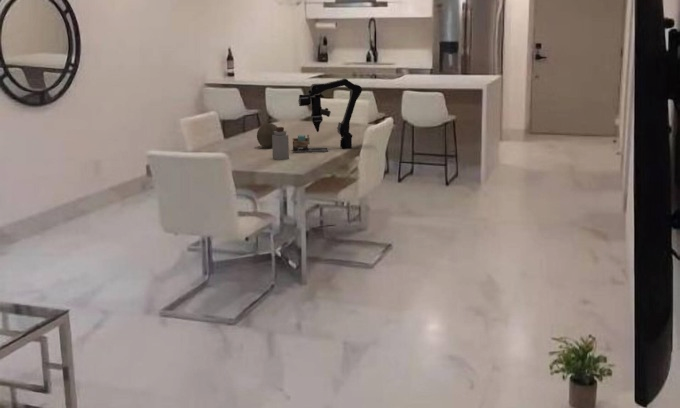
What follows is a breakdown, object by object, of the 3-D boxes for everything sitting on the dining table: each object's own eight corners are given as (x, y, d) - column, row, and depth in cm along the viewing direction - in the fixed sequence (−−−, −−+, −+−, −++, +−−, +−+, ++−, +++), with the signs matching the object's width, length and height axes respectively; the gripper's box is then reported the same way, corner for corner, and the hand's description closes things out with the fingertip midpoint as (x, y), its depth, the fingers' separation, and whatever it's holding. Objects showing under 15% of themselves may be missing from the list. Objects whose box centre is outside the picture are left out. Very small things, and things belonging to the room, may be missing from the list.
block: (298, 142, 455) (297, 135, 454) (305, 142, 455) (305, 134, 454) (298, 143, 451) (297, 136, 450) (305, 143, 451) (305, 136, 450)
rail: (327, 149, 461) (327, 147, 460) (328, 152, 450) (328, 150, 450) (292, 149, 459) (292, 148, 459) (293, 153, 449) (292, 151, 448)
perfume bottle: (279, 160, 428) (277, 128, 423) (272, 158, 433) (271, 127, 429) (289, 158, 432) (288, 127, 427) (282, 156, 437) (281, 126, 432)
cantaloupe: (276, 149, 461) (275, 125, 457) (254, 149, 463) (253, 125, 460) (282, 145, 474) (282, 122, 470) (261, 145, 477) (260, 121, 473)
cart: (309, 147, 460) (308, 134, 458) (309, 150, 448) (309, 137, 447) (292, 147, 459) (292, 135, 458) (292, 151, 448) (292, 138, 446)
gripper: (330, 106, 444) (331, 132, 448) (328, 102, 462) (329, 127, 466) (311, 107, 444) (313, 133, 448) (310, 103, 462) (311, 128, 466)
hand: (317, 130), depth 457 cm, fingers open, 9 cm apart
